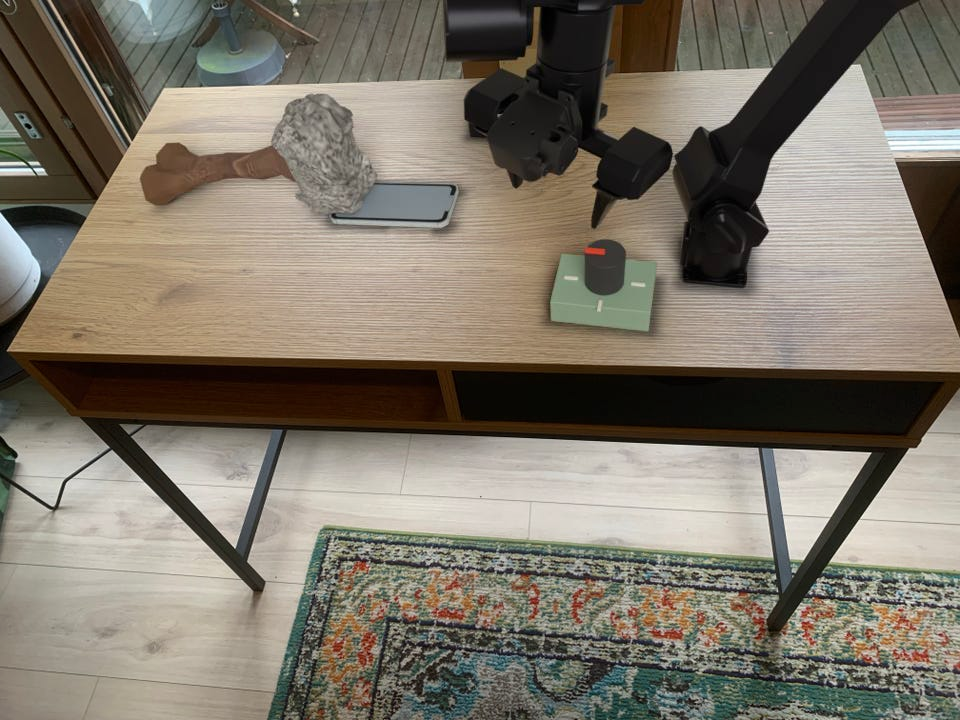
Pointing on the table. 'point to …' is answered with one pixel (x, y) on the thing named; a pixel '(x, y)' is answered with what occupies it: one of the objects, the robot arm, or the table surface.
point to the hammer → (280, 160)
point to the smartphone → (404, 205)
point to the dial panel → (603, 296)
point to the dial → (604, 267)
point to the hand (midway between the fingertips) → (555, 205)
